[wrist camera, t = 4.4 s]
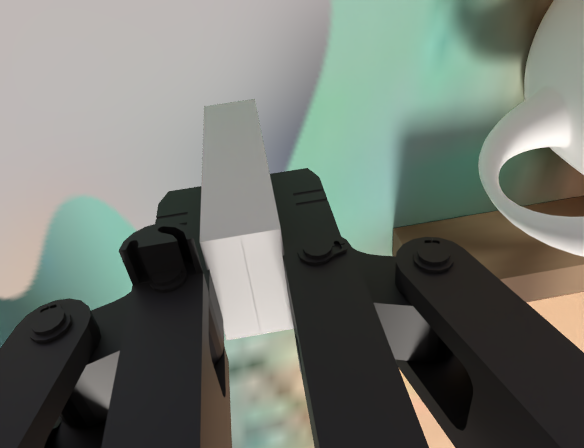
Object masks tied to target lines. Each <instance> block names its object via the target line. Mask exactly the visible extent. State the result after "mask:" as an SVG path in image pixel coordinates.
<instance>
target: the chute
mask: <svg viewBox="0 0 584 448" xmlns="http://www.w3.org/2000/svg"><path fill="white" fill-rule="evenodd" d="M522 207H524V208H527V209H529V210H532V211H535V212H539V213H543V214H548V215H554V216H565V217H584V196H581V197H575V198H569V199H563V200H557V201H552V202H546V203H540V204H534V205H528V206H522ZM421 237H439V238H443V239H446V240H450V241H453V242H455V243H456V244H458V245H459V246H461V247H463V248H464V249H465V250H466V251H468V252H469V253H470V254H471V255H472V256H473V257H474V258H476V259H477V260H478V261H479V262H480V263H481V264H482V265H484V266H485V267H486V268H487V269H488V270H489V271H490V272H492V273H493V274H494V275H495V276H496V277H497V278H499V279H500V280H501V281H502V282H503V283H504V284H505V285H507V286H508V287H509V288H510V289H511V290H512V291H513V292H515V293H516V294H517V295H518V296H519V297H520V298H521V299H523V300H524V301H525V302H530V301H536V300H541V299H547V298H552V297H558V296H563V295H569V294H574V293H580V292H584V257H583V256H579V255H575V254H572V253H569V252H566V251H563V250H560V249H557V248H555V247H552V246H549V245H547V244H545V243H543V242H541V241H539V240H537V239H536V238H534V237H532V236H530V235H528V234H527V233H525V232H524V231H522V230H521V229H519V228H518V227H516V226H515V225H514V224H512V223H511V222H510V221H509V220H508V219H507V218H506V217H505V216H504V215H503V214H502V213H501V212H500V211H493V212H487V213H481V214H475V215H469V216H463V217H458V218H452V219H446V220H440V221H434V222H428V223H422V224H416V225H411V226H405V227H399V228H393V256H396V252H397V251H398V250H399V248H400V247H401V246H402V245H403V244H405V243H406V242H408V241H410V240H412V239H416V238H421Z"/></svg>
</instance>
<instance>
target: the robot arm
mask: <svg viewBox="0 0 584 448" xmlns="http://www.w3.org/2000/svg"><path fill="white" fill-rule="evenodd" d="M156 217H157V219H156V222H155V225H151V226H147V227H144V228H143V229H140V230H139V231H137V232H135V233H133V234H132V235H131V236H129V237H128V238H127V239H126V240H125V241H124V242H123V244H122V246H121V247H120V249H119V253H120V255H121V257H122V260H123V262H124V265H125V267H126V270H127V272H128V274H129V277H130V279H131V282H132V284H133V286H132V291H131V292H130V293H129V294H127V295H126V296H124V297H122V298H120V299H118V300H116V301H114V302H112V303H109V304H107V305H104V306H102V307H99V308H97V309H94V310H92V311H91V310H90V308H89V306H87V305H86V304H85V303H83V302H82V301H80V300H75V299H63V300H56V301H53V302H51V303H48V304H45V305H43V306H40V307H39V308H37V309H36V310H34V311H33V312H31V313H30V314H28V315H27V316H26V317H25V318H24V319H23V320H22V321H21V322H20V323H19V324H18V325H17V326H16V328H15V329H14V330H13V332H12V333H11V335H10V336H9V337H8V339H7V340H6V341H5V343H4V344H3V345H2V347H1V348H0V448H232V439H231V413H230V387H229V362H228V358H227V354H226V351H225V347H224V332H225V336H226V339H227V340H232V339H238V338H243V337H249V336H255V335H260V334H266V333H272V332H277V331H283V330H289V329H294V332H295V339H296V346H297V353H298V359H299V366H300V372H301V374H302V379H303V385H304V391H305V396H306V402H307V407H308V413H309V418H310V424H311V429H312V435H313V440H314V446H315V448H429V446H428V444H427V441H426V439H425V436H424V433H423V431H422V428H421V426H420V423H419V420H418V418H417V415H416V413H415V410H414V407H413V405H412V402H411V400H410V397H409V394H408V392H407V389H406V387H405V384H404V381H403V379H402V376H401V373H400V371H399V369H400V370H401V372H402V373H403V374H404V376H405V377H406V379H407V380H408V382H409V383H410V384H411V386H412V387H413V389H414V390H415V391H416V393H417V394H418V396H419V397H420V398H421V400H422V401H423V403H424V404H425V405H426V407H427V408H428V410H429V411H430V412H431V414H432V415H433V417H434V418H435V419H436V421H437V422H438V424H439V425H440V426H441V428H442V429H443V431H444V432H445V433H446V435H447V436H448V438H449V439H450V441H451V442H452V443H453V445H454V446H455V448H584V353H583V352H582V351H581V350H580V349H579V348H578V347H577V346H575V345H574V344H573V343H572V342H571V341H570V340H569V339H567V338H566V337H565V336H564V335H563V334H562V333H560V332H559V331H558V330H557V329H556V328H555V327H554V326H552V325H551V324H550V323H549V322H548V321H547V320H546V319H544V318H543V317H542V316H541V315H540V314H539V313H538V312H536V311H535V310H534V309H533V308H532V307H531V306H530V305H528V304H527V303H526V302H525V301H524V300H523V299H521V298H520V297H519V296H518V295H517V294H516V293H515V292H513V291H512V290H511V289H510V288H509V287H508V286H507V285H505V284H504V283H503V282H502V281H501V280H500V279H499V278H497V277H496V276H495V275H494V274H493V273H492V272H490V271H489V270H488V269H487V268H486V267H485V266H484V265H482V264H481V263H480V262H479V261H478V260H477V259H476V258H474V257H473V256H472V255H471V254H470V253H469V252H468V251H466V250H465V249H464V248H463V247H461V246H459V245H458V244H456V243H455V242H453V241H450V240H446V239H443V238H439V237H421V238H416V239H412V240H410V241H408V242H406V243H405V244H403V245H402V246H401V247H400V248H399V250H398V251H397V252H396V256H379V255H371V254H366V253H363V252H360V251H357V250H355V249H353V248H352V247H351V245H350V244H349V243H348V241H347V240H346V239H344V238H342V237H341V235H340V232H339V230H338V227H337V224H336V221H335V219H334V216H333V213H332V211H331V208H330V205H329V202H328V201H327V197H326V194H325V192H324V189H323V186H322V183H321V181H320V178H319V177H318V176H317V175H316V174H314V173H313V172H312V171H310V170H309V169H308V168H305V169H299V170H292V171H286V172H280V173H273V174H270V173H269V168H268V163H267V158H266V153H265V148H264V143H263V138H262V133H261V129H260V123H259V118H258V114H257V109H256V104H255V99H251V100H245V101H238V102H231V103H225V104H218V105H211V106H204V129H203V157H202V186H200V187H194V188H188V189H182V190H175V191H169V192H168V193H167V194H166V195H165V197H164V198H163V199H162V200H161V202H160V203H159V205H158V211H157V216H156ZM398 367H399V368H398Z"/></svg>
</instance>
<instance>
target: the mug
mask: <svg viewBox="0 0 584 448" xmlns="http://www.w3.org/2000/svg"><path fill="white" fill-rule="evenodd" d="M524 97H525V101H523V102H522V103H520V104H519V105H517V106H516V107H515V108H513V109H512V110H511V111H509V112H508V113H507V114H506V115H505V116H504V117H503V118H502V119H501V120H500V121H499V122H498V123H497V124H496V126H495V127H494V128H493V129H492V130H491V132H490V133H489V134H488V136H487V138H486V139H485V141H484V143H483V146H482V149H481V152H480V155H479V162H478V168H479V176H480V179H481V182H482V185H483V187H484V189H485V191H486V193H487V195H488V196H489V198H490V200H491V201H492V202H493V204H494V205H495V206H496V207H497V209H498V210H499V211H500V212H501V213H502V214H503V215H504V216H505V217H506V218H507V219H508V220H509V221H510V222H511V223H512V224H514V225H515V226H516V227H518V228H519V229H521V230H522V231H524V232H525V233H527V234H528V235H530V236H532V237H534V238H536V239H537V240H539V241H541V242H543V243H545V244H547V245H549V246H552V247H555V248H557V249H560V250H563V251H566V252H569V253H572V254H575V255H579V256H583V257H584V217H565V216H554V215H548V214H543V213H539V212H535V211H532V210H529V209H527V208H524V207H522V206H519V205H517V204H516V203H514V202H513V201H511V200H510V199H508V197H507V196H506V195H505V194H504V193H503V192H502V190H501V187H500V185H499V178H498V176H499V172H500V169H501V167H502V165H503V164H504V163H505V162H506V161H507V160H508V159H510V158H511V157H513V156H515V155H517V154H519V153H522V152H525V151H528V150H532V149H537V148H544V147H550V148H551V149H552V150H553V151H554V152H555V153H556V154H557V155H559V156H560V157H561V158H562V159H563V160H565V161H566V162H567V163H568V164H570V165H571V166H572V167H574V168H575V169H576V170H578V171H579V172H580V173H581V174H583V175H584V0H553V2H552V4H551V5H550V7H549V9H548V10H547V12H546V14H545V15H544V17H543V19H542V21H541V23H540V25H539V27H538V29H537V32H536V34H535V37H534V39H533V42H532V45H531V48H530V51H529V55H528V59H527V63H526V70H525V78H524Z"/></svg>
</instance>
